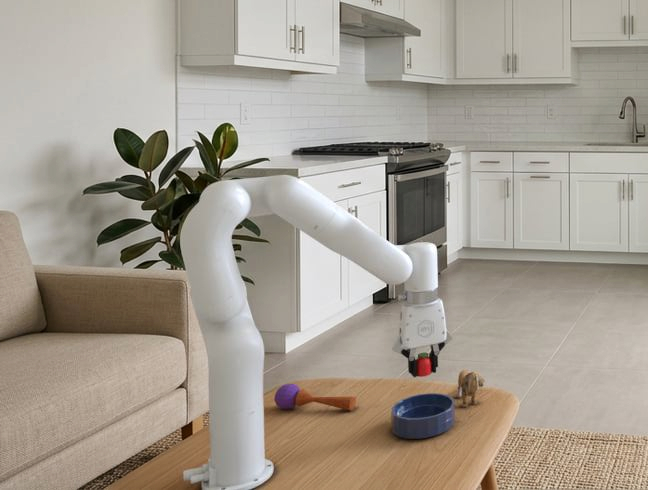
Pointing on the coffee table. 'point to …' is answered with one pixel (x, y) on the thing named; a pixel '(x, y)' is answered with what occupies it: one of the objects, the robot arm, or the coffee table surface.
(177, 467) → the coffee table surface
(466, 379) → the tan animal figure
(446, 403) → the bowl
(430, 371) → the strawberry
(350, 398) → the maraca
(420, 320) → the robot arm
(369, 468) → the coffee table surface
